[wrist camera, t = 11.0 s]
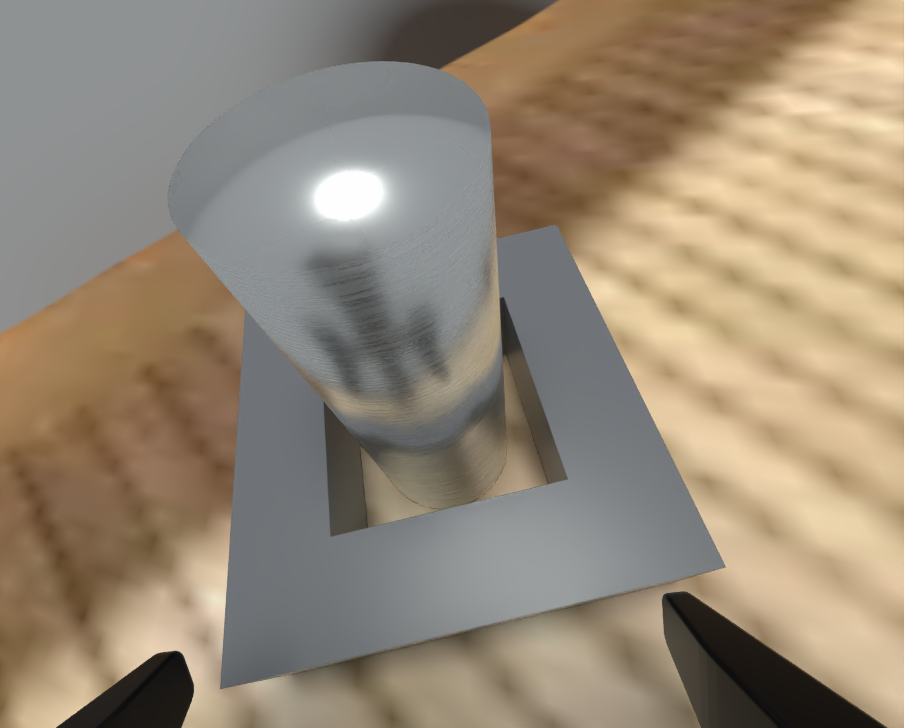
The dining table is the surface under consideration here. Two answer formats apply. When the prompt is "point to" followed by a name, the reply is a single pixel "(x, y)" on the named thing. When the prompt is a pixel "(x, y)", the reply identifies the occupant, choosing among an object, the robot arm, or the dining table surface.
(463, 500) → the steel pin
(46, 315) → the dining table surface
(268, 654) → the socket block
